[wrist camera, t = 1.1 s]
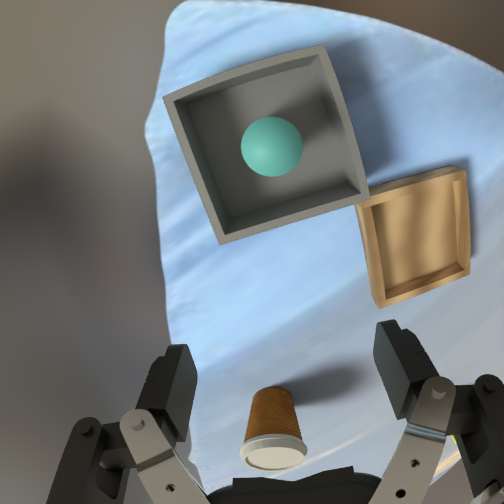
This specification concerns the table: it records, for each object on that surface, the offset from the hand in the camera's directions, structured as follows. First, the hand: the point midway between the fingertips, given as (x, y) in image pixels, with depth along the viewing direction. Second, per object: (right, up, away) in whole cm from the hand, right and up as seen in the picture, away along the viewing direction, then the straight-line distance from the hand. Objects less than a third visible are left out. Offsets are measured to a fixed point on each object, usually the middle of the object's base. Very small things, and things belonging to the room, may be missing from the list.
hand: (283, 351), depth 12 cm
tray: (+19, +7, +21) cm, 29 cm away
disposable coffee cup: (+2, -20, +33) cm, 39 cm away
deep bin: (0, +16, +18) cm, 23 cm away
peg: (0, +15, +17) cm, 23 cm away
